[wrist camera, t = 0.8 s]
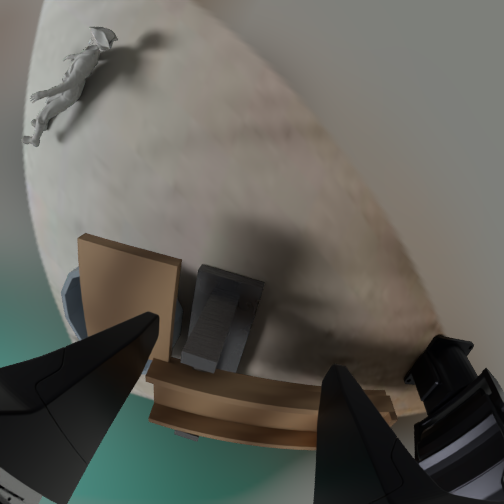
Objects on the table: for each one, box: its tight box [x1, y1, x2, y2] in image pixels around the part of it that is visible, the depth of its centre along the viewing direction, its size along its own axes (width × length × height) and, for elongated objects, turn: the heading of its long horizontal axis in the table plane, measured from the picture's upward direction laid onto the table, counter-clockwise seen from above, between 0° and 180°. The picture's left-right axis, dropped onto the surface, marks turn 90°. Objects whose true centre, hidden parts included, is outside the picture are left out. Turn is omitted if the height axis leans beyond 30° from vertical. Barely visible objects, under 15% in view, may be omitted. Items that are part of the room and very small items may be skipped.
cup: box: [61, 266, 183, 374], centre depth 22 cm, size 11×11×4 cm
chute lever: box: [78, 233, 398, 450], centre depth 15 cm, size 22×14×3 cm, turn 76°
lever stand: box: [175, 264, 265, 441], centre depth 20 cm, size 5×13×8 cm, turn 166°
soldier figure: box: [21, 27, 118, 147], centre depth 15 cm, size 8×5×12 cm
